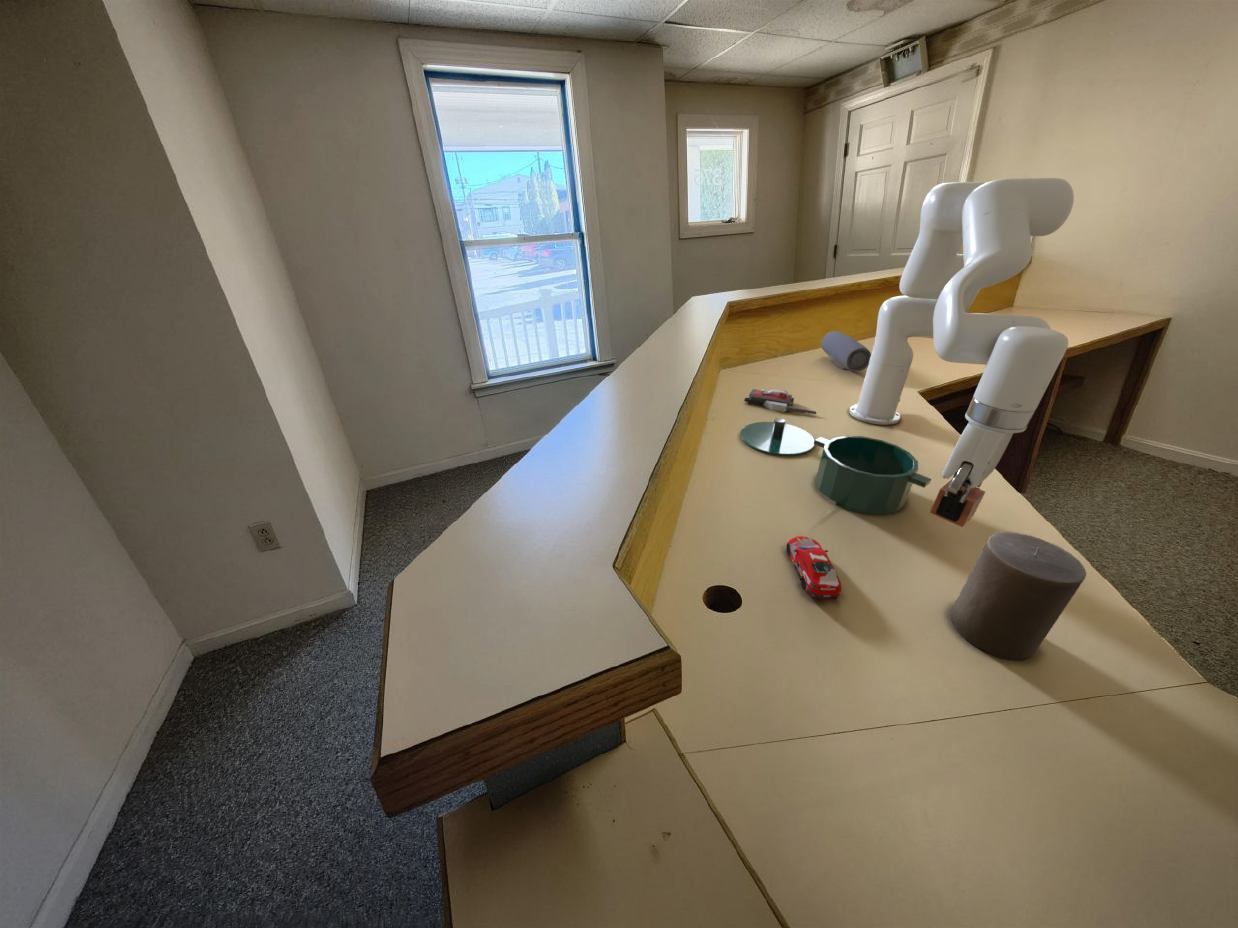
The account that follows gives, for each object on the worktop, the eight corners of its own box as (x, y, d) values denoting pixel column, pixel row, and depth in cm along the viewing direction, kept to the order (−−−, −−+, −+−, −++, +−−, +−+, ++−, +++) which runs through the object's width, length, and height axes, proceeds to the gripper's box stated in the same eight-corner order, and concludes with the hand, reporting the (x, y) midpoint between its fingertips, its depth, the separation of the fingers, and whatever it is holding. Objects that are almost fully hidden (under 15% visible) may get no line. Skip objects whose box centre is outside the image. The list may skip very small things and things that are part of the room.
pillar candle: (1006, 671, 57) (1064, 585, 50) (933, 616, 65) (974, 534, 58) (1051, 645, 61) (1112, 561, 53) (977, 595, 69) (1020, 515, 61)
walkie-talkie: (741, 406, 132) (814, 419, 124) (743, 392, 129) (818, 404, 122) (748, 396, 138) (817, 407, 131) (750, 382, 136) (821, 393, 129)
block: (941, 502, 80) (951, 478, 78) (973, 515, 77) (985, 491, 74) (929, 512, 78) (940, 488, 75) (962, 527, 74) (974, 502, 72)
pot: (829, 457, 105) (838, 424, 101) (932, 500, 90) (948, 463, 86) (788, 481, 96) (795, 446, 92) (895, 533, 81) (910, 493, 77)
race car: (782, 544, 79) (786, 526, 77) (814, 545, 79) (818, 526, 77) (805, 601, 68) (811, 582, 66) (842, 603, 67) (849, 583, 65)
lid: (767, 420, 124) (771, 400, 121) (828, 443, 112) (833, 422, 109) (725, 438, 114) (727, 417, 111) (786, 466, 102) (790, 443, 99)
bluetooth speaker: (868, 375, 155) (877, 346, 150) (841, 375, 155) (848, 346, 150) (841, 355, 174) (847, 329, 169) (816, 355, 174) (822, 329, 169)
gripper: (989, 392, 75) (948, 483, 84) (948, 420, 66) (907, 519, 75) (1046, 406, 70) (996, 502, 79) (1010, 439, 61) (958, 543, 70)
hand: (953, 509), depth 77 cm, fingers closed on block, 5 cm apart
